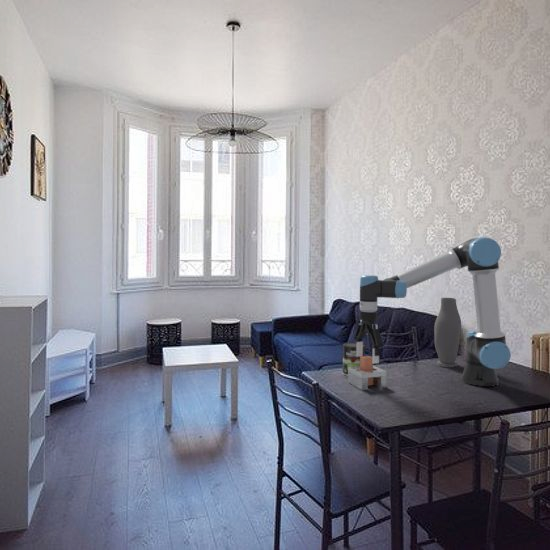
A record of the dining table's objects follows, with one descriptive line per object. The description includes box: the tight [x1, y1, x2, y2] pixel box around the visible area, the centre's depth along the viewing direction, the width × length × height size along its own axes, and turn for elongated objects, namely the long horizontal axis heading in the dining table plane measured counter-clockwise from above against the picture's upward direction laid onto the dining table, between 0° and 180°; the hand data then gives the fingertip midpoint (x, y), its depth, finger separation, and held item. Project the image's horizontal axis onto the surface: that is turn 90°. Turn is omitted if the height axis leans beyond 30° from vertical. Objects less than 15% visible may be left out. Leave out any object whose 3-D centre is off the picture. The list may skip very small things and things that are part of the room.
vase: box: [433, 297, 462, 368], centre depth 227 cm, size 13×13×35 cm
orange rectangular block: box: [360, 355, 374, 386], centre depth 193 cm, size 4×4×12 cm
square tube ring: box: [347, 364, 388, 391], centre depth 193 cm, size 12×12×7 cm
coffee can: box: [342, 342, 366, 377], centre depth 210 cm, size 10×10×14 cm
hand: (367, 359), depth 192 cm, fingers open, 13 cm apart
